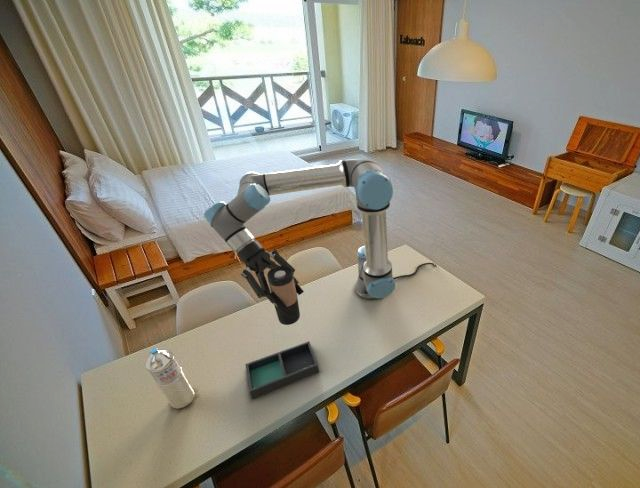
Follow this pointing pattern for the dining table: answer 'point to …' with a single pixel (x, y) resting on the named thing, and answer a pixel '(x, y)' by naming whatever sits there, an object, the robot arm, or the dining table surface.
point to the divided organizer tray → (281, 369)
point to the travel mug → (284, 294)
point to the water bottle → (170, 378)
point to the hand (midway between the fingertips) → (293, 300)
